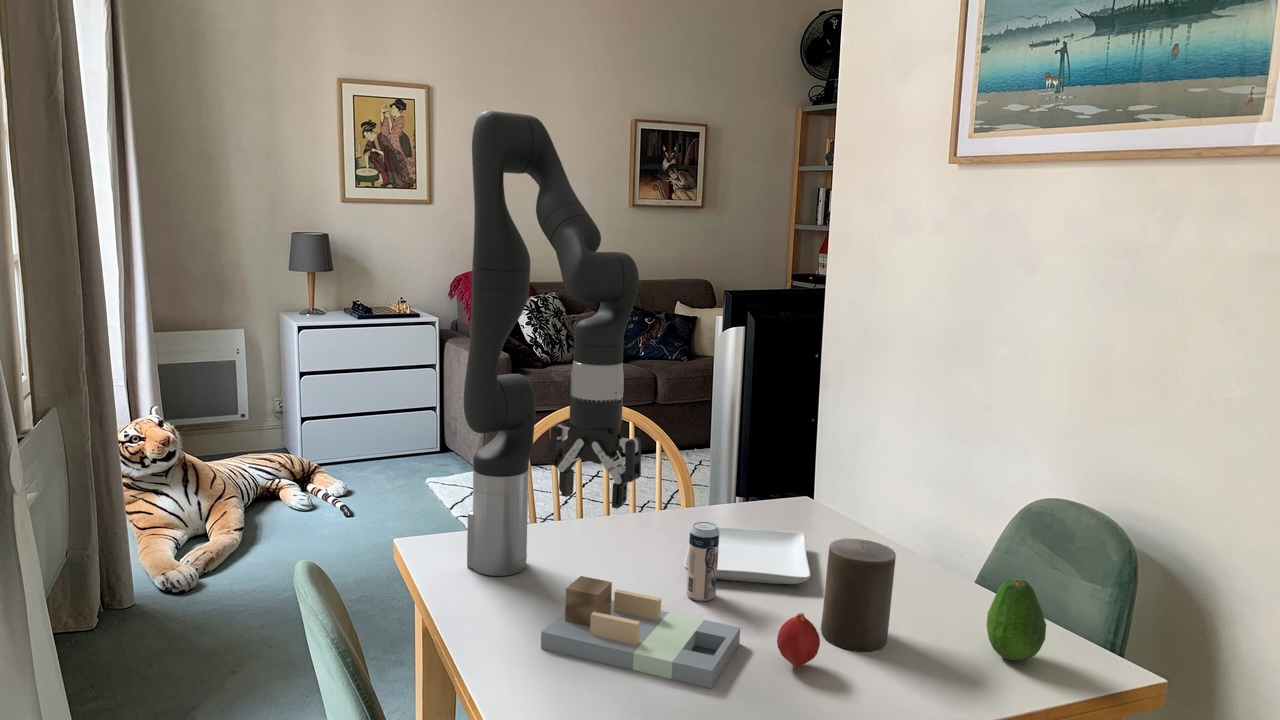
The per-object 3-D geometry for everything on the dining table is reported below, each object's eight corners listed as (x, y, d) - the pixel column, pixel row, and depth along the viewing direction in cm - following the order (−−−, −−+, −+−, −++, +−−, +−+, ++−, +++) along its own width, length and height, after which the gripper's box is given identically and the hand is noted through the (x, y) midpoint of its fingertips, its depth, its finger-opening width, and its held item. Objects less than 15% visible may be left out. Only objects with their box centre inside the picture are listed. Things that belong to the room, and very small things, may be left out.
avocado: (971, 648, 135) (980, 571, 133) (1017, 643, 137) (1026, 567, 135) (1007, 675, 128) (1017, 594, 126) (1054, 670, 130) (1065, 589, 128)
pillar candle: (849, 657, 131) (860, 556, 128) (807, 627, 139) (816, 533, 137) (901, 645, 135) (912, 548, 133) (857, 617, 144) (866, 526, 141)
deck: (540, 648, 130) (541, 611, 129) (582, 609, 142) (584, 575, 141) (710, 688, 121) (713, 649, 120) (739, 643, 134) (741, 607, 133)
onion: (771, 656, 130) (774, 602, 129) (811, 656, 131) (815, 603, 129) (780, 677, 124) (784, 621, 123) (822, 676, 125) (827, 621, 124)
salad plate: (682, 584, 154) (683, 565, 154) (690, 540, 175) (691, 522, 175) (810, 595, 152) (811, 576, 152) (803, 549, 173) (804, 531, 172)
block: (565, 620, 133) (566, 588, 132) (579, 607, 137) (580, 575, 136) (596, 628, 131) (597, 594, 130) (610, 614, 136) (611, 582, 135)
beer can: (713, 604, 146) (718, 532, 144) (684, 600, 147) (688, 529, 145) (717, 592, 151) (721, 522, 149) (688, 588, 152) (692, 519, 150)
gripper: (540, 389, 131) (536, 498, 134) (627, 404, 125) (622, 518, 128) (568, 381, 138) (564, 485, 141) (653, 395, 131) (647, 503, 134)
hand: (592, 501), depth 134 cm, fingers open, 8 cm apart
